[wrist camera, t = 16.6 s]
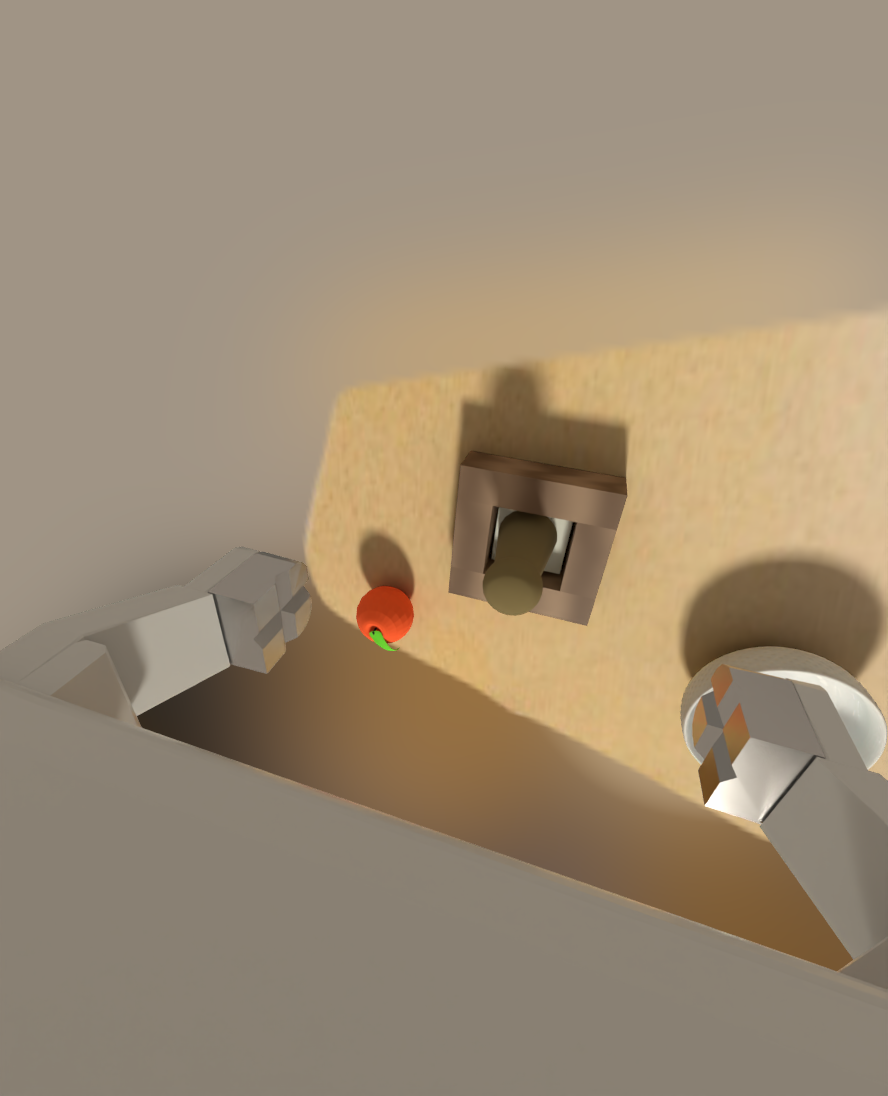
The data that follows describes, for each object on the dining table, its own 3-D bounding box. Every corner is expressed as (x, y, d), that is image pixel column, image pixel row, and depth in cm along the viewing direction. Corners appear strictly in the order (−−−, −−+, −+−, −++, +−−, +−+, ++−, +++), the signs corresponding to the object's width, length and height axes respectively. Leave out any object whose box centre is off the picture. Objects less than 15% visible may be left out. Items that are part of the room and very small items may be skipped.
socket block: (626, 478, 44) (627, 495, 41) (588, 602, 52) (587, 625, 49) (470, 451, 47) (460, 465, 44) (457, 572, 55) (448, 592, 52)
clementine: (434, 620, 60) (415, 658, 54) (391, 630, 63) (369, 667, 57) (405, 569, 57) (381, 603, 51) (361, 582, 60) (334, 616, 55)
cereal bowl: (861, 735, 51) (894, 796, 45) (690, 740, 58) (699, 794, 52) (849, 610, 44) (885, 662, 38) (659, 634, 52) (666, 681, 46)
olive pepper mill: (501, 504, 48) (476, 561, 39) (562, 514, 46) (550, 575, 37) (495, 555, 51) (471, 618, 42) (552, 565, 49) (539, 633, 40)
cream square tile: (575, 508, 47) (575, 512, 46) (560, 569, 50) (559, 574, 50) (502, 493, 48) (500, 498, 47) (493, 554, 52) (491, 559, 51)
